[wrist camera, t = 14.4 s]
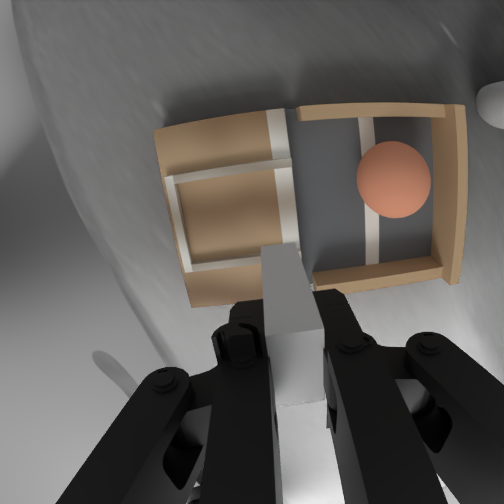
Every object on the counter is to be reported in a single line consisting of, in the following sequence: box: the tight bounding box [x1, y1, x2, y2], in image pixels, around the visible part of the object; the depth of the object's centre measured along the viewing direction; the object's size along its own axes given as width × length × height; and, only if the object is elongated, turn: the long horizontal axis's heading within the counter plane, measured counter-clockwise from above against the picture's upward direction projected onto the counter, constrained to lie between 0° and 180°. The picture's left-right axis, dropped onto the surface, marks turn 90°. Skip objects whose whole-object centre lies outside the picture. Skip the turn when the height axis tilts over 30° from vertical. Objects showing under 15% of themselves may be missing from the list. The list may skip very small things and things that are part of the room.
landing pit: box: [284, 103, 468, 294], centre depth 22 cm, size 14×13×4 cm
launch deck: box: [153, 108, 302, 308], centre depth 23 cm, size 14×9×3 cm, turn 8°
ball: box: [356, 141, 431, 218], centre depth 20 cm, size 5×5×5 cm
